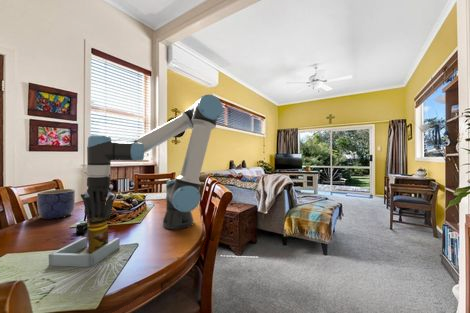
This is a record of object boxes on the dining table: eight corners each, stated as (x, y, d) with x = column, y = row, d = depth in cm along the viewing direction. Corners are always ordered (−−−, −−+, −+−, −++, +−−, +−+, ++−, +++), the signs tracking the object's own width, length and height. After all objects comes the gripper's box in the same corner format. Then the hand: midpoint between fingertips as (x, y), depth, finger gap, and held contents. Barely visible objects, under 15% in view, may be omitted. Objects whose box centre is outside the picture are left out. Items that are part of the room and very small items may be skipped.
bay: (119, 247, 79) (119, 238, 79) (91, 266, 65) (91, 255, 65) (84, 246, 80) (84, 237, 80) (48, 265, 66) (48, 254, 66)
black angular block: (84, 238, 89) (84, 227, 89) (64, 239, 88) (64, 229, 88) (96, 228, 101) (96, 219, 101) (79, 229, 100) (79, 220, 100)
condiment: (106, 254, 73) (105, 221, 73) (78, 257, 71) (77, 223, 70) (112, 244, 80) (111, 214, 80) (86, 247, 78) (85, 216, 77)
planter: (37, 216, 120) (37, 191, 120) (73, 211, 132) (73, 188, 132) (37, 223, 108) (36, 194, 108) (76, 216, 119) (76, 191, 119)
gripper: (121, 175, 82) (120, 234, 82) (90, 174, 83) (89, 232, 83) (108, 177, 75) (107, 242, 75) (74, 176, 75) (73, 240, 76)
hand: (98, 237), depth 79 cm, fingers closed
